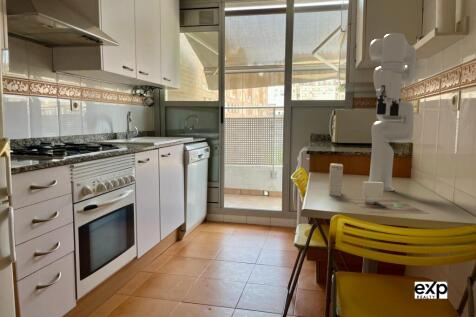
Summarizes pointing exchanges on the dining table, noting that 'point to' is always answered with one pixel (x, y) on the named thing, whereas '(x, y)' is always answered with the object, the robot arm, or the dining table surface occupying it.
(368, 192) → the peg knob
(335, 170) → the supplement box
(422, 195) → the dining table surface
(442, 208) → the dining table surface
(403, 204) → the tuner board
